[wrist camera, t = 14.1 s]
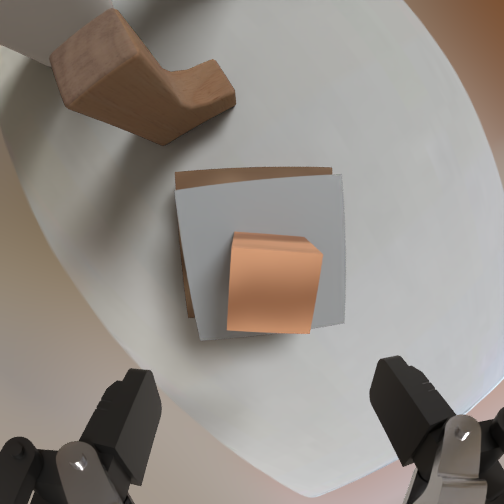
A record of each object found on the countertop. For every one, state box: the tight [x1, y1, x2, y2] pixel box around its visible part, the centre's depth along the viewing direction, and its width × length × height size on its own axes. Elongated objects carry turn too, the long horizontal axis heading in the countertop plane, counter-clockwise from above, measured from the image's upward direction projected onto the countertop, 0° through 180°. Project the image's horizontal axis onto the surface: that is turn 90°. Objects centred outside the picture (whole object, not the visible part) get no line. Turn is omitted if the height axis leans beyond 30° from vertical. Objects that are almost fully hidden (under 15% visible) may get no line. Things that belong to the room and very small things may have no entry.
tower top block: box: [174, 174, 346, 341], centre depth 23 cm, size 12×12×5 cm
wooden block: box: [49, 8, 236, 146], centre depth 17 cm, size 9×4×18 cm, turn 119°
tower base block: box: [175, 167, 332, 318], centre depth 27 cm, size 14×14×5 cm
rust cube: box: [227, 232, 323, 334], centre depth 18 cm, size 5×5×5 cm
